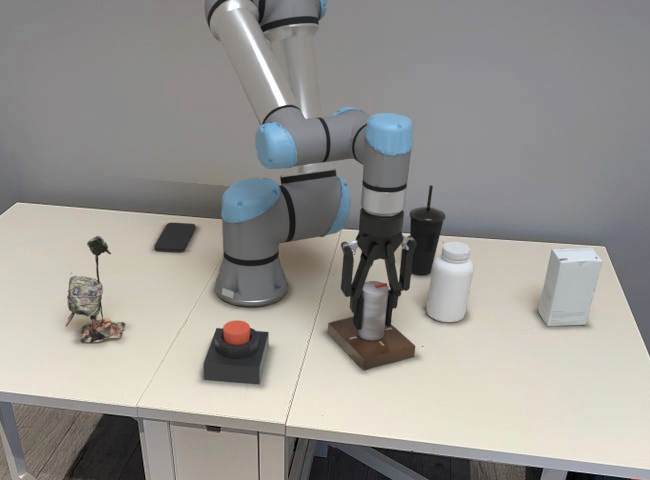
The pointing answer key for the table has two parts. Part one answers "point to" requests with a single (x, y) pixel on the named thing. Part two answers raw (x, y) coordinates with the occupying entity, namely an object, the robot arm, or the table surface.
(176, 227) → the phone
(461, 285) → the pill bottle
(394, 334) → the panel
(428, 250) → the drinking cup
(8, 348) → the table surface
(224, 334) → the red push button
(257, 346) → the button base
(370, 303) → the dial
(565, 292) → the cosmetic box
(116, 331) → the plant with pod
